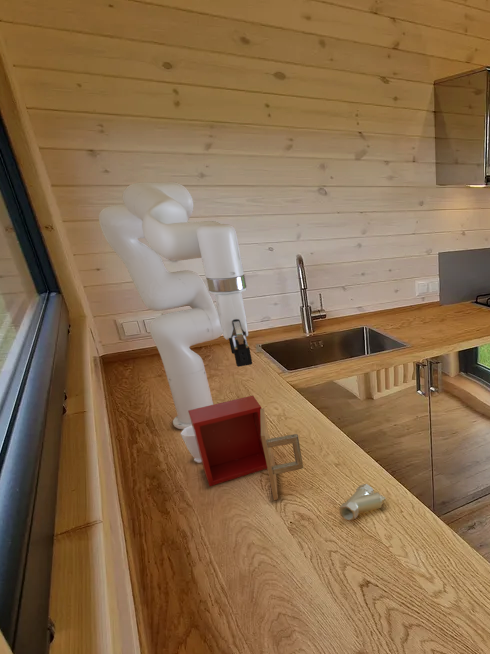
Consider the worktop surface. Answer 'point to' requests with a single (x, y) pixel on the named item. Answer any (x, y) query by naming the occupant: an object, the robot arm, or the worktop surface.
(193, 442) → the cup
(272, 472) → the cabinet door
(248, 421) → the valve cabinet
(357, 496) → the pipe fitting
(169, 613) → the worktop surface
